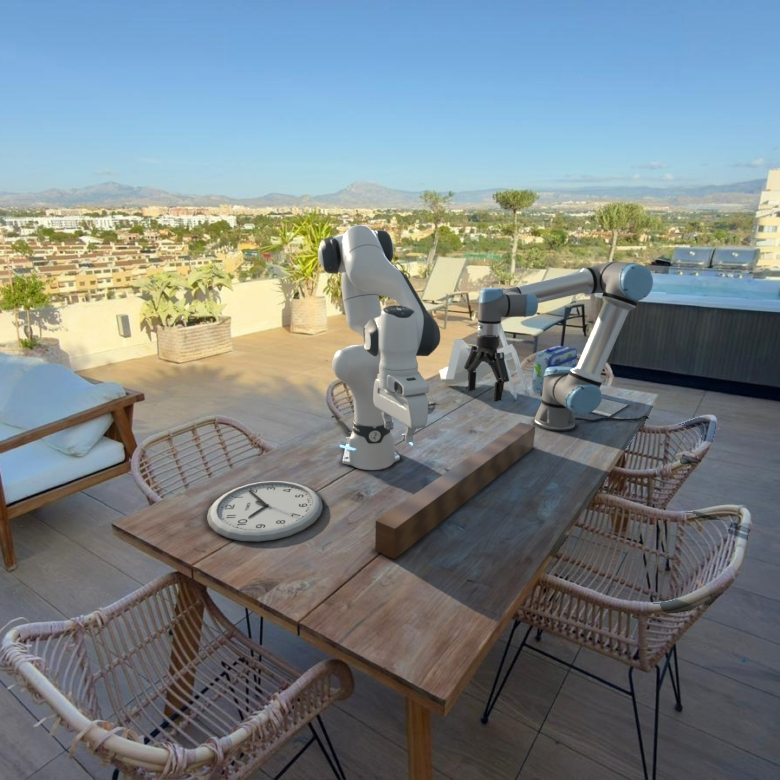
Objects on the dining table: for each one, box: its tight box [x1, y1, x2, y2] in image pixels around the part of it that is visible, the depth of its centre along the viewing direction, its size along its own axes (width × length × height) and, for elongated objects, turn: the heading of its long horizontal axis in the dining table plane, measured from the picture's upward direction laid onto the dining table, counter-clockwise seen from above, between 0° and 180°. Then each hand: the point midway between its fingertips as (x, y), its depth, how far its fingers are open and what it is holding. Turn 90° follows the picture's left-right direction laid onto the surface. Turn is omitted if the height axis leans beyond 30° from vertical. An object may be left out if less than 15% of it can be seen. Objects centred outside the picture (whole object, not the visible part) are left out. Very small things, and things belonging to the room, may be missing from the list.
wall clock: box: [206, 480, 324, 543], centre depth 140 cm, size 30×2×30 cm
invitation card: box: [591, 398, 629, 418], centre depth 226 cm, size 21×1×15 cm
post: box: [374, 422, 536, 560], centre depth 152 cm, size 82×6×8 cm, turn 143°
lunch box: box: [531, 345, 578, 394], centre depth 244 cm, size 26×11×21 cm, turn 135°
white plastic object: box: [438, 323, 531, 400], centre depth 245 cm, size 37×45×31 cm
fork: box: [428, 395, 437, 408], centre depth 223 cm, size 3×16×2 cm, turn 160°
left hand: (398, 435), depth 123 cm, fingers open, 8 cm apart
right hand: (484, 395), depth 181 cm, fingers open, 13 cm apart
